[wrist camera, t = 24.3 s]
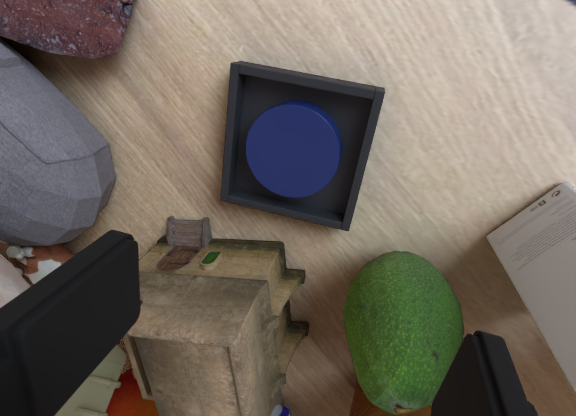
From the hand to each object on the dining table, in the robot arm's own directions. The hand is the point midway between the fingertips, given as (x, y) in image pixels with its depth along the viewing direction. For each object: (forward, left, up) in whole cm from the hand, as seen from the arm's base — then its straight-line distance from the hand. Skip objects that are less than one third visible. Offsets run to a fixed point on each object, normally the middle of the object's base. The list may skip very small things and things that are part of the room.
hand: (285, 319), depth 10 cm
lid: (+3, +1, -17) cm, 17 cm away
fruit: (-7, +10, -19) cm, 22 cm away
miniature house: (+8, +15, -19) cm, 26 cm away
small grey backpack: (+27, +5, -19) cm, 33 cm away
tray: (+3, +1, -19) cm, 19 cm away
